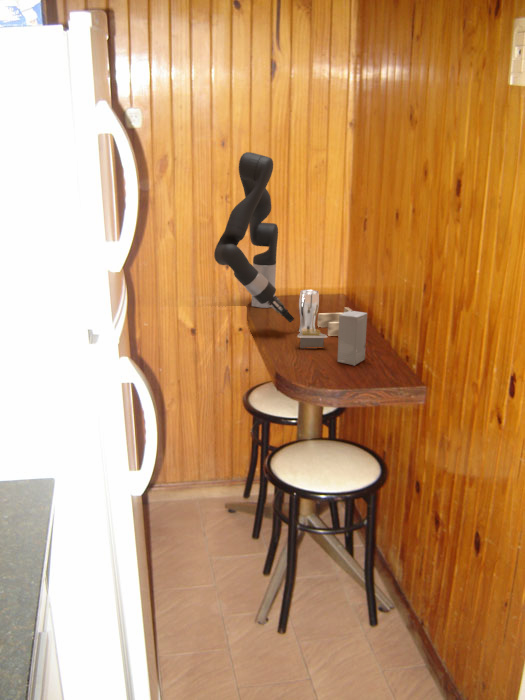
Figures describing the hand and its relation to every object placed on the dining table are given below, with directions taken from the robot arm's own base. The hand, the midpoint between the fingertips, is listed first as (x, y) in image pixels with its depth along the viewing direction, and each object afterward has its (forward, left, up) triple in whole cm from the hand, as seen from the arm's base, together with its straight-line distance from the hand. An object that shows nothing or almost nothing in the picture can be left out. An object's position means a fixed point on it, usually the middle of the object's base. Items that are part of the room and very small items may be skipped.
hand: (291, 320), depth 260 cm
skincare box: (+18, -28, -5) cm, 34 cm away
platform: (+6, -16, -5) cm, 18 cm away
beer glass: (+6, +2, -5) cm, 8 cm away
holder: (+16, +5, -5) cm, 18 cm away
